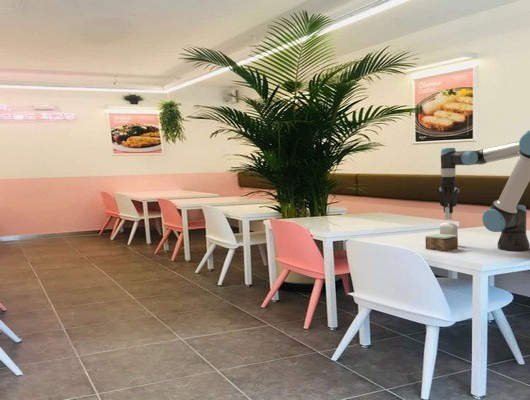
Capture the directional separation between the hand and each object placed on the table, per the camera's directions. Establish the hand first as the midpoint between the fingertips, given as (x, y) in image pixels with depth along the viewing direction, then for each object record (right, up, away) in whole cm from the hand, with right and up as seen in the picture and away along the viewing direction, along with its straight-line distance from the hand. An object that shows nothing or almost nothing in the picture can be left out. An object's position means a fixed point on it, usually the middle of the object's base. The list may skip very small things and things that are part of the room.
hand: (448, 219), depth 278 cm
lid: (-7, -9, -9) cm, 15 cm away
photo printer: (+1, -15, +2) cm, 15 cm away
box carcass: (-7, -15, -9) cm, 19 cm away
